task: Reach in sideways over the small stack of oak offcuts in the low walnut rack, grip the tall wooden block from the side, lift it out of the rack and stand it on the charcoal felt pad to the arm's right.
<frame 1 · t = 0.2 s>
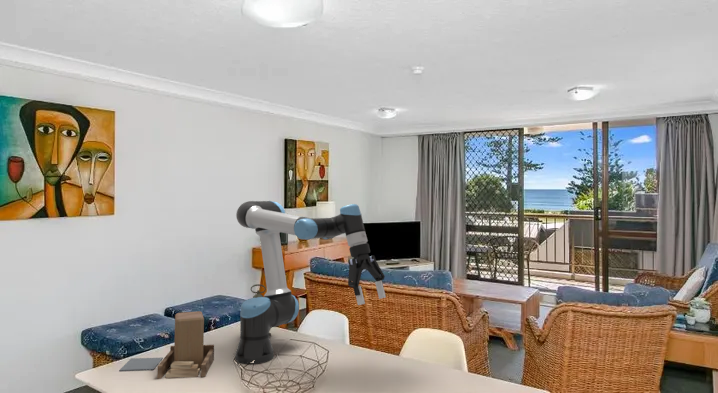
hand: (372, 301, 164), 28 cm above the table, tool tilted 20°, fingers open, 13 cm apart
felt pad: (141, 364, 172), on the table
rack: (188, 366, 171), on the table
wooden block: (188, 367, 171), resting in rack
tabletop clock: (257, 339, 207), on the table
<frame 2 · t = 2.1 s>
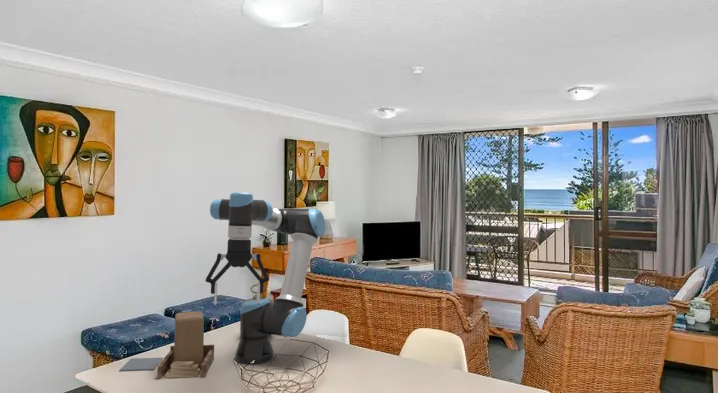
hand: (236, 303, 148), 30 cm above the table, tool pointing down, fingers open, 13 cm apart
nothing on the table moved.
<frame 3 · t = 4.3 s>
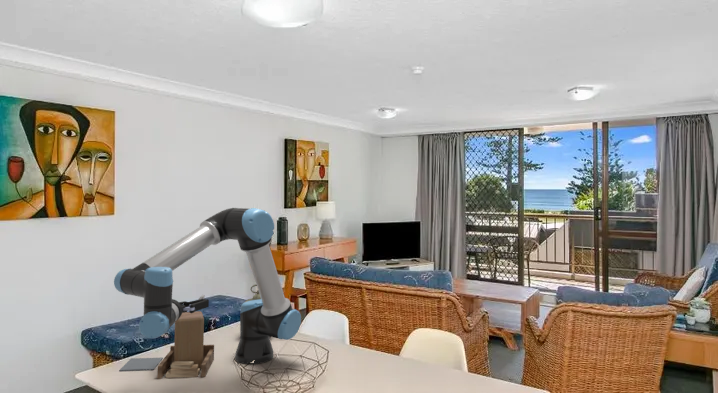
hand: (183, 298, 161), 28 cm above the table, tool horizontal, fingers open, 13 cm apart
nothing on the table moved.
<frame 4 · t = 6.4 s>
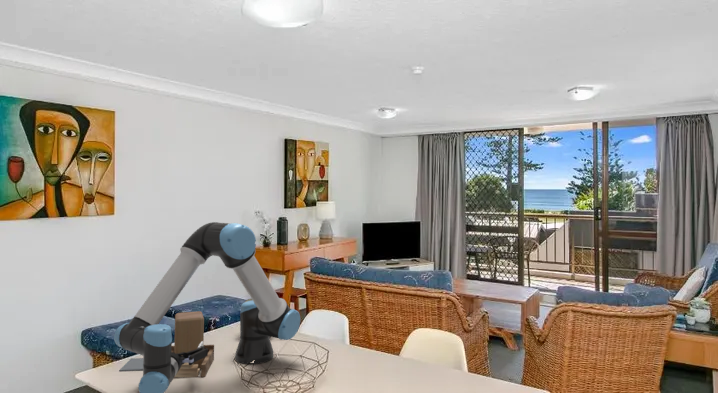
hand: (182, 345, 162), 11 cm above the table, tool horizontal, fingers open, 13 cm apart
nothing on the table moved.
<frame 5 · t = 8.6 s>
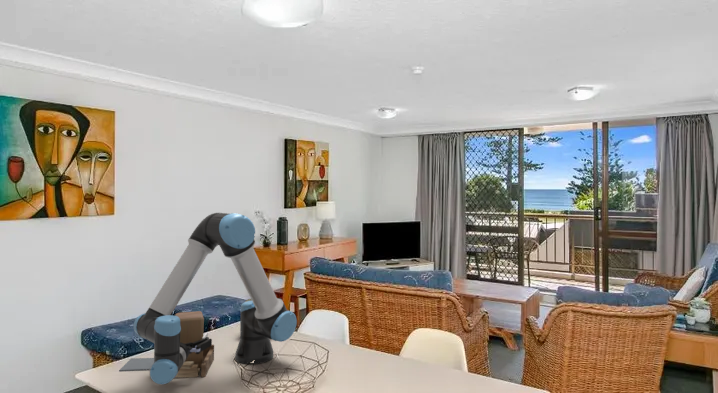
hand: (190, 336, 173), 11 cm above the table, tool horizontal, fingers closed on wooden block, 11 cm apart
wooden block: (188, 367, 171), resting in rack, touching gripper
everything else where it was.
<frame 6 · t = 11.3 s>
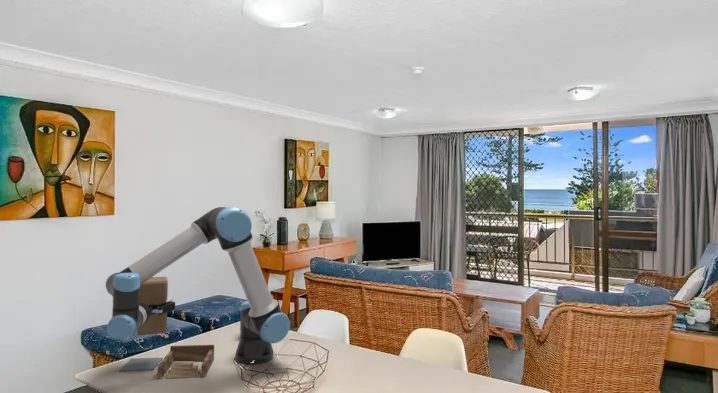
hand: (154, 301, 173), 24 cm above the table, tool horizontal, fingers closed on wooden block, 11 cm apart
wooden block: (152, 331, 171), point 13 cm above the table, touching gripper
everything else where it was.
when the fingers open (13 cm above the table, at t = 14.4 s): wooden block drops 1 cm, resting on felt pad.
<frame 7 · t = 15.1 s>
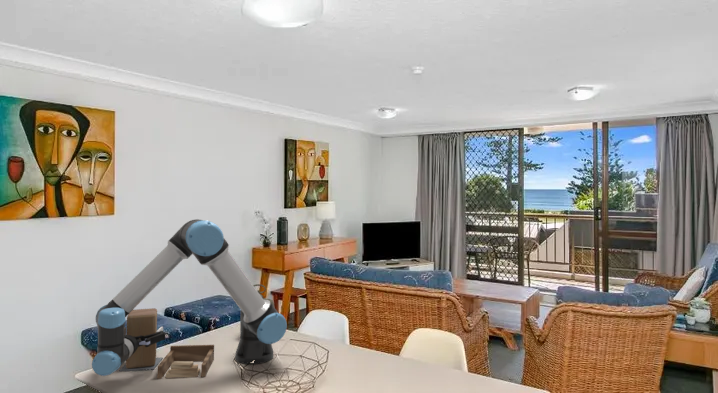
hand: (143, 330, 173), 13 cm above the table, tool horizontal, fingers open, 13 cm apart
wooden block: (141, 364, 172), resting on felt pad
everything else where it was.
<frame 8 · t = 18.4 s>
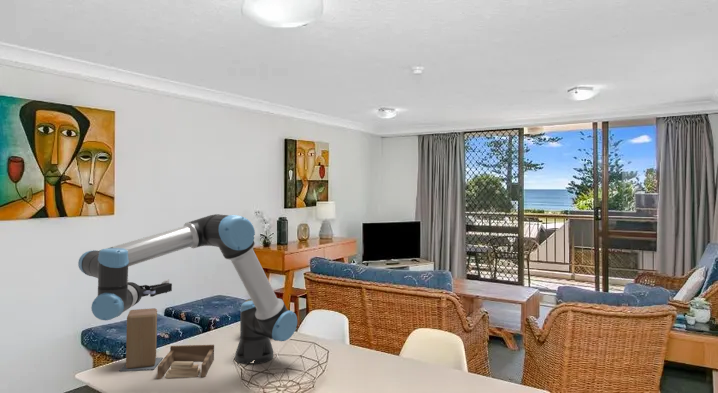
hand: (147, 283, 159), 34 cm above the table, tool horizontal, fingers open, 13 cm apart
nothing on the table moved.
at the end: wooden block inside the target area on the felt pad (0.2 cm from its centre), point 0.3 cm above the felt pad's base; wooden block tilted 0°; the gripper is holding nothing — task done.
